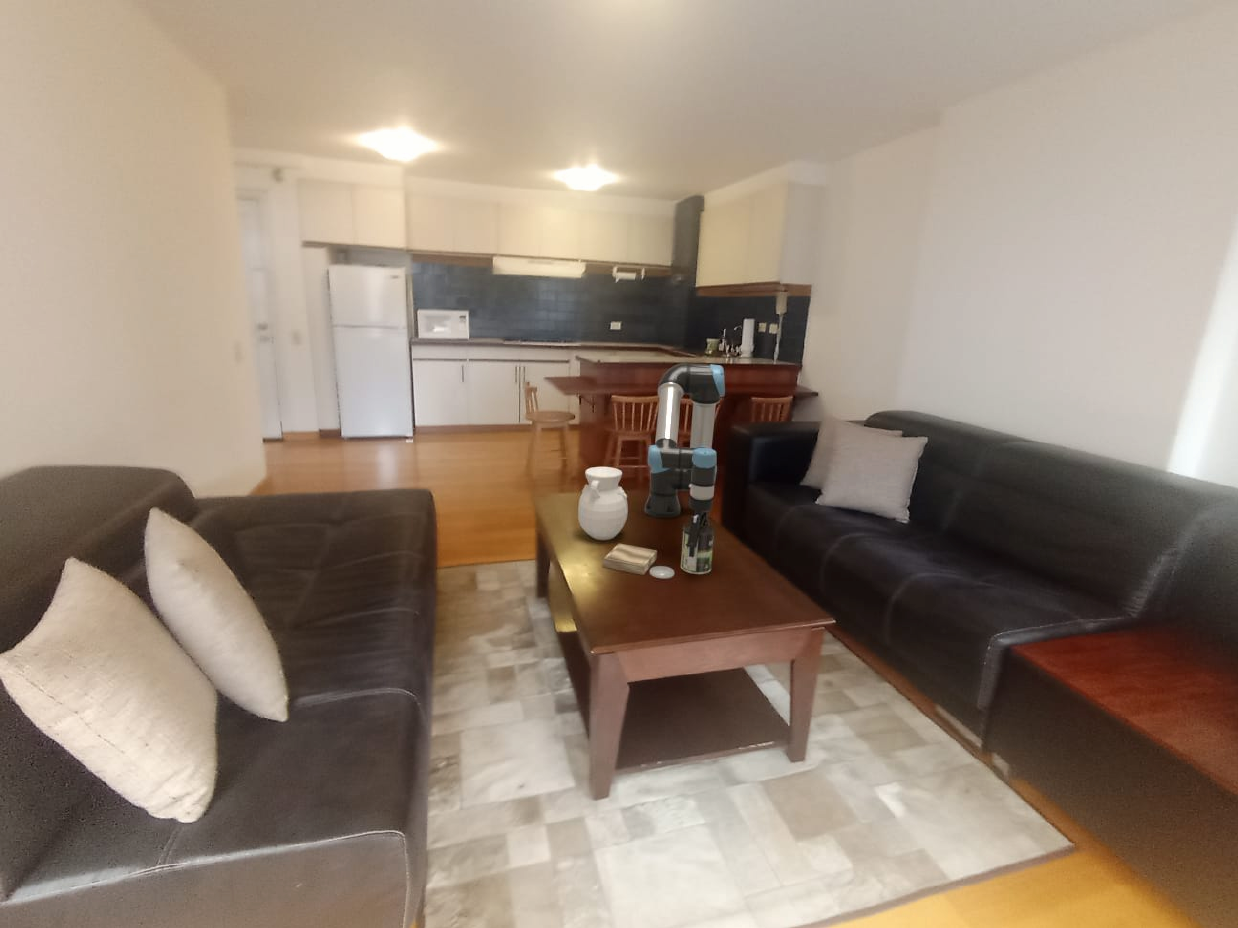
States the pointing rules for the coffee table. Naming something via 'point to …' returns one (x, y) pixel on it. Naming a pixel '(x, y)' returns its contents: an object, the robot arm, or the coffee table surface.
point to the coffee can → (698, 550)
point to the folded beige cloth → (630, 559)
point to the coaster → (662, 572)
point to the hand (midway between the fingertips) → (696, 557)
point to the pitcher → (602, 503)
